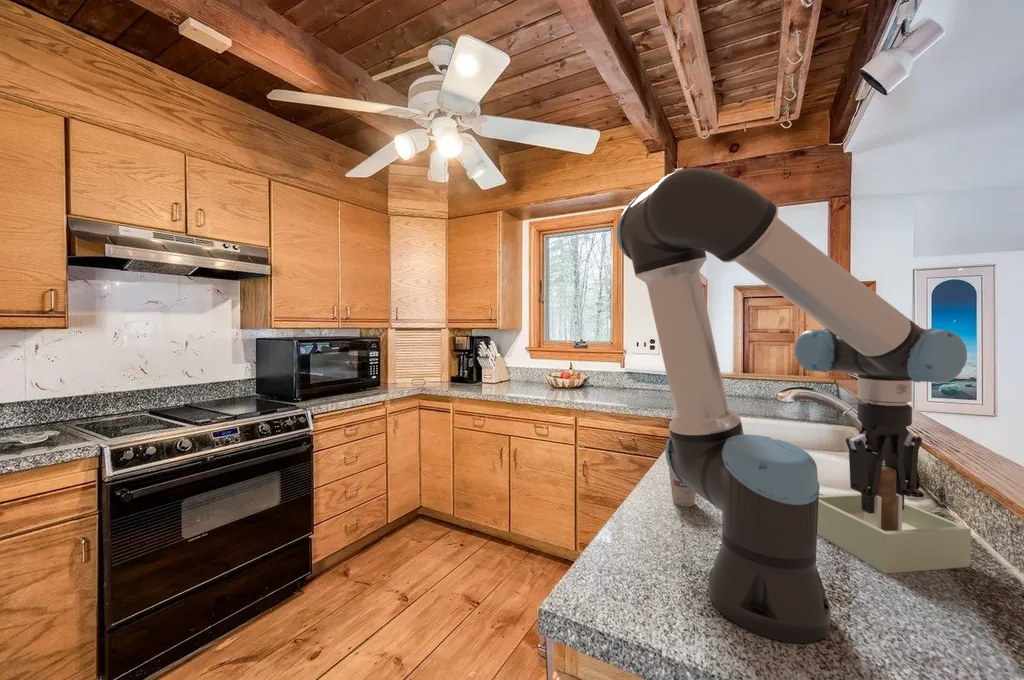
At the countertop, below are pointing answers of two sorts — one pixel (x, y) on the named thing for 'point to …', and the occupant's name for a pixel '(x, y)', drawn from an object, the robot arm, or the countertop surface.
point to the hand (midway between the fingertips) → (882, 528)
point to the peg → (888, 498)
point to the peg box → (894, 537)
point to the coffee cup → (681, 492)
